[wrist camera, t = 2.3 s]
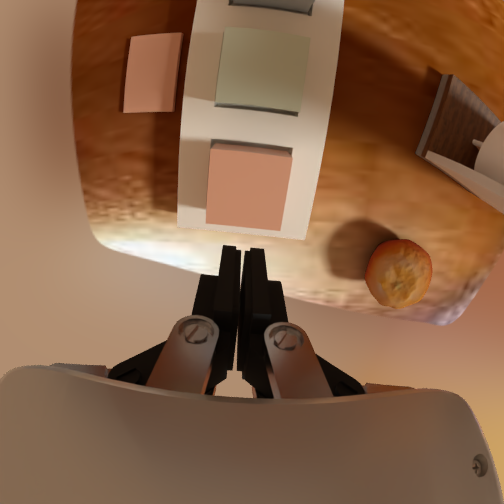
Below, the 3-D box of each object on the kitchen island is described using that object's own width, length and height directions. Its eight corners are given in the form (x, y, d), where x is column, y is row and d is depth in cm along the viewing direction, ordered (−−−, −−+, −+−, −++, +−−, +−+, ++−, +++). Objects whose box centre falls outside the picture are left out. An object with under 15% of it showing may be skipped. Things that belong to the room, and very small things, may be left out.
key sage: (228, 37, 17) (225, 26, 14) (302, 46, 17) (310, 37, 14) (219, 102, 20) (215, 102, 17) (293, 111, 20) (300, 112, 17)
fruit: (414, 292, 32) (413, 328, 26) (364, 271, 35) (352, 302, 29) (439, 239, 28) (446, 267, 22) (384, 216, 31) (378, 238, 25)
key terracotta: (215, 143, 21) (210, 148, 19) (287, 151, 22) (292, 158, 19) (210, 208, 24) (205, 223, 22) (276, 215, 25) (280, 231, 22)
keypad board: (215, -46, 13) (211, -60, 11) (337, -29, 14) (346, -41, 11) (184, 214, 28) (177, 227, 25) (299, 225, 29) (304, 240, 26)
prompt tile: (134, 38, 18) (131, 36, 17) (183, 34, 18) (181, 32, 18) (126, 112, 22) (123, 113, 21) (174, 111, 22) (172, 111, 22)
